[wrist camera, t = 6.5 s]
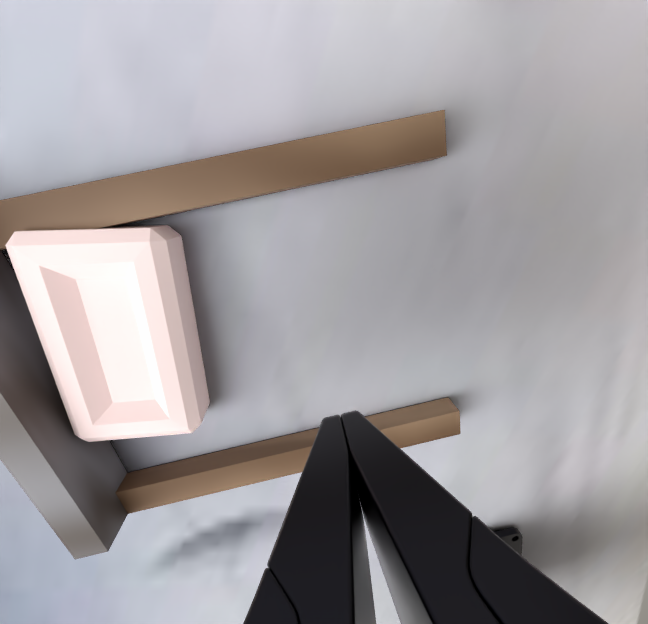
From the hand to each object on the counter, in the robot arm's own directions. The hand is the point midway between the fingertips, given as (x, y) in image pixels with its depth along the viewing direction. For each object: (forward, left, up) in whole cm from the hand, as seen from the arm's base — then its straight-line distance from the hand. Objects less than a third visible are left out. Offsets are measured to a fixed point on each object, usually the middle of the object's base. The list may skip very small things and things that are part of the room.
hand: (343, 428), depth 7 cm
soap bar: (+1, +8, -8) cm, 12 cm away
